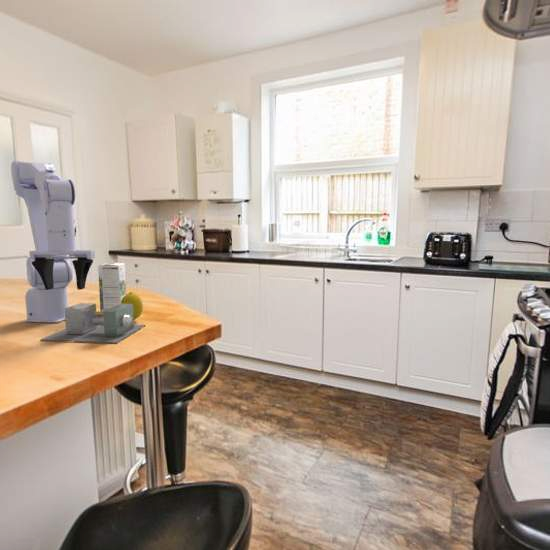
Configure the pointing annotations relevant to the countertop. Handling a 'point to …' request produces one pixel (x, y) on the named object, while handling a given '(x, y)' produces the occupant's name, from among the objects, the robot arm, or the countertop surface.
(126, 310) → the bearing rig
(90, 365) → the countertop surface
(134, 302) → the lemon
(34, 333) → the countertop surface
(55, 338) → the mat
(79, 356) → the countertop surface
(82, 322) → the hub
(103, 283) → the syrup box
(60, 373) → the countertop surface
